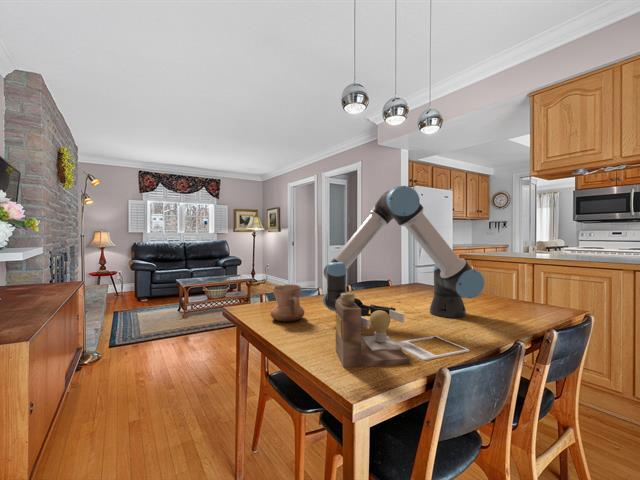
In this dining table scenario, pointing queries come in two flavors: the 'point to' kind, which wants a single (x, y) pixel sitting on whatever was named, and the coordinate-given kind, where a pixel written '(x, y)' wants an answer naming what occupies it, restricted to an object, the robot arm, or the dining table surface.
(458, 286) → the robot arm
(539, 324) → the dining table surface
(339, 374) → the dining table surface
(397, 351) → the brown l-shaped block
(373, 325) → the light bulb
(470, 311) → the dining table surface
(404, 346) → the photo frame
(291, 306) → the ceramic jug
